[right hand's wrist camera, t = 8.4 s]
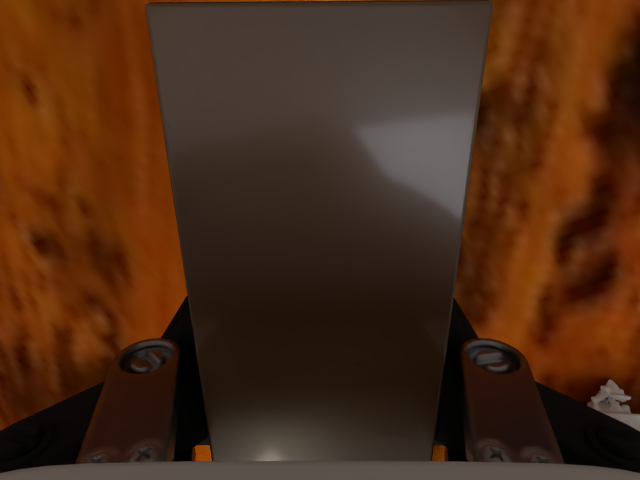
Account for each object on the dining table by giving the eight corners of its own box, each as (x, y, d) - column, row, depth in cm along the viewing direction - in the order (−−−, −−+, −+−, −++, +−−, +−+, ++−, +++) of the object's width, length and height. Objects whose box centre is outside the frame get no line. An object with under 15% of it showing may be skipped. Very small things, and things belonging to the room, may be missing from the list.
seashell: (584, 364, 32) (724, 413, 26) (567, 429, 32) (704, 494, 26) (546, 364, 27) (712, 426, 21) (526, 441, 27) (686, 526, 21)
